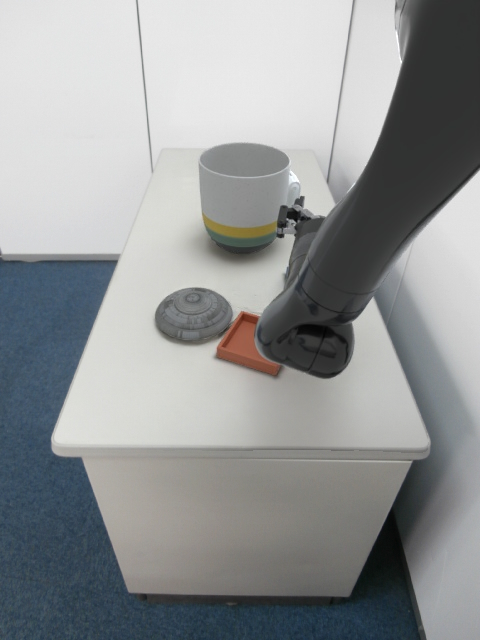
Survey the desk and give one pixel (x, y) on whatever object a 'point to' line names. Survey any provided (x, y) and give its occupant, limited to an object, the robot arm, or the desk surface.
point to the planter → (243, 194)
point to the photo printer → (293, 190)
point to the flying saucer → (193, 314)
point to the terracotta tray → (244, 345)
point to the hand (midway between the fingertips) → (328, 204)
